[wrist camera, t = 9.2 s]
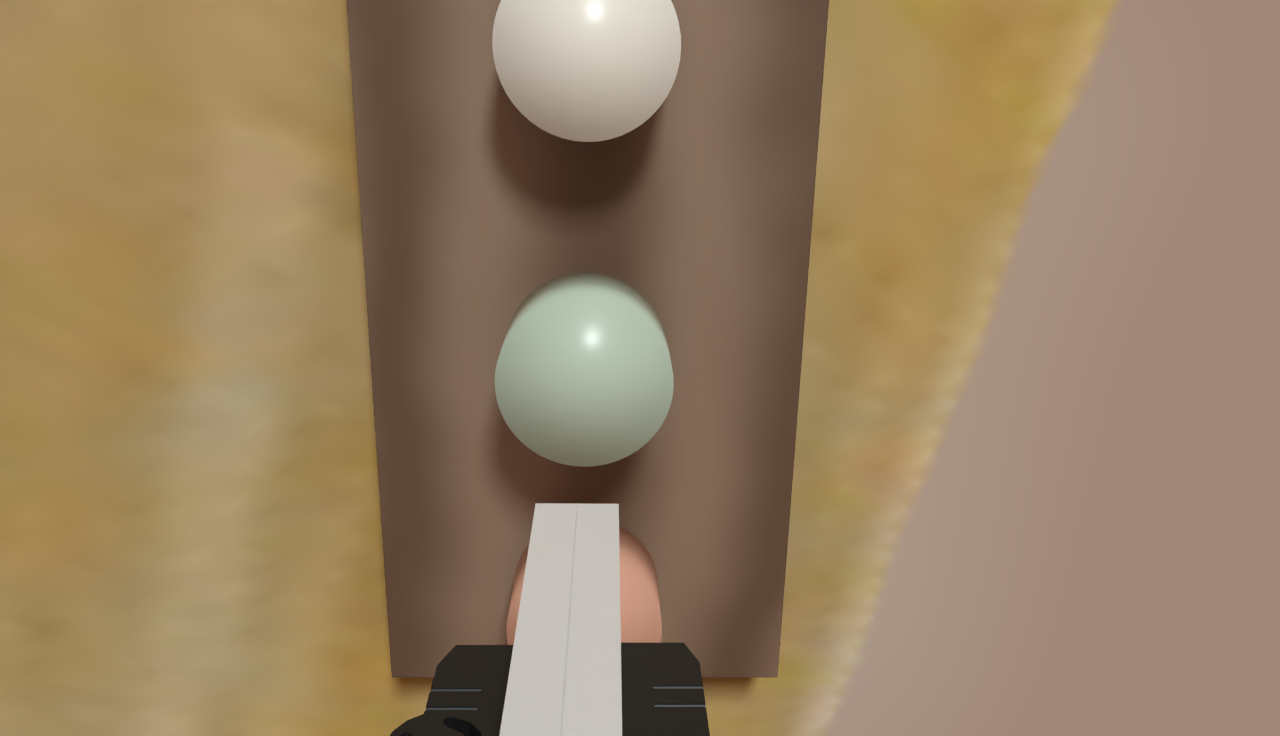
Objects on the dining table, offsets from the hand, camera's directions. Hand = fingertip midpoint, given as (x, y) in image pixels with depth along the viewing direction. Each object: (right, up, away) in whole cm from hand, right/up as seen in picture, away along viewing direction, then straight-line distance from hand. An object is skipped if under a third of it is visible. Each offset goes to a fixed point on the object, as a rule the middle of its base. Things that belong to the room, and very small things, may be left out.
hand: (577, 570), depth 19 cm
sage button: (-1, +4, +13) cm, 14 cm away
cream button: (0, +13, +11) cm, 17 cm away
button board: (-1, +6, +17) cm, 18 cm away
